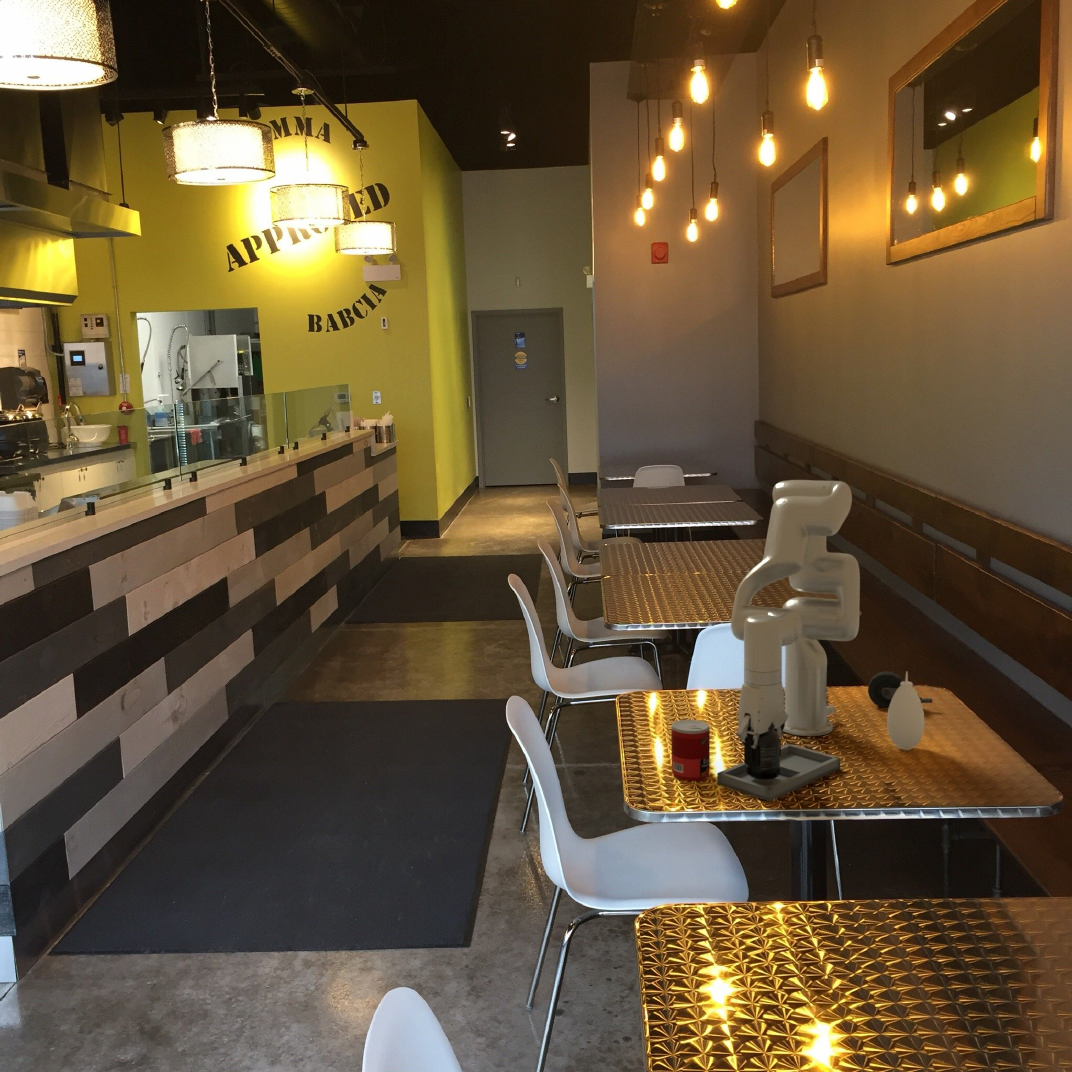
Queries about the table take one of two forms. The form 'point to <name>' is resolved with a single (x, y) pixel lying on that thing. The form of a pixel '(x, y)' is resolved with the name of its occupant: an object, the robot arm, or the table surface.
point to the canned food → (690, 750)
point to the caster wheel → (886, 689)
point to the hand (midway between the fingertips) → (762, 759)
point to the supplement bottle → (767, 755)
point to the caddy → (781, 773)
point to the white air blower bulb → (905, 717)
